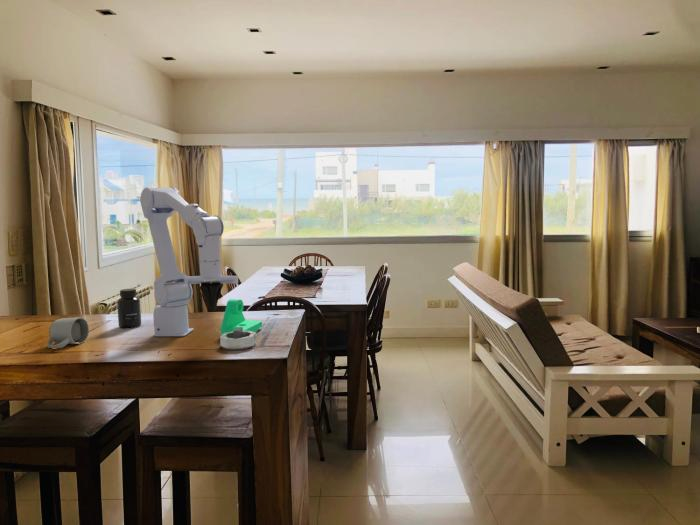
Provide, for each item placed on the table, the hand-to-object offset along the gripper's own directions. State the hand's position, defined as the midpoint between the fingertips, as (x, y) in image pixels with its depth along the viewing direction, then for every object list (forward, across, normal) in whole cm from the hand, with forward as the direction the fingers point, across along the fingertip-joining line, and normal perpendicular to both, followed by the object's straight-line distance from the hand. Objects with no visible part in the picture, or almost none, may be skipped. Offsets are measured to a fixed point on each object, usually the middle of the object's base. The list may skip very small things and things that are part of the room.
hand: (213, 309), depth 151 cm
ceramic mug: (+10, -43, 0) cm, 45 cm away
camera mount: (+10, +4, +12) cm, 17 cm away
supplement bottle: (+10, -35, +21) cm, 42 cm away
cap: (+9, +7, -1) cm, 12 cm away
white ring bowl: (+10, +7, -1) cm, 12 cm away
